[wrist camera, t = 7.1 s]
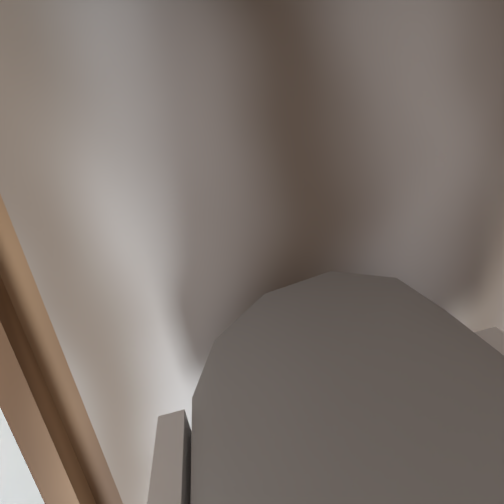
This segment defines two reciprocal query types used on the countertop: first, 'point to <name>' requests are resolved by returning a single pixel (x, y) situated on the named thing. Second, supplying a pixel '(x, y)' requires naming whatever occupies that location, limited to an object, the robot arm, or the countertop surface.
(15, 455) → the countertop surface
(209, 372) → the cup
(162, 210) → the wooden tray
